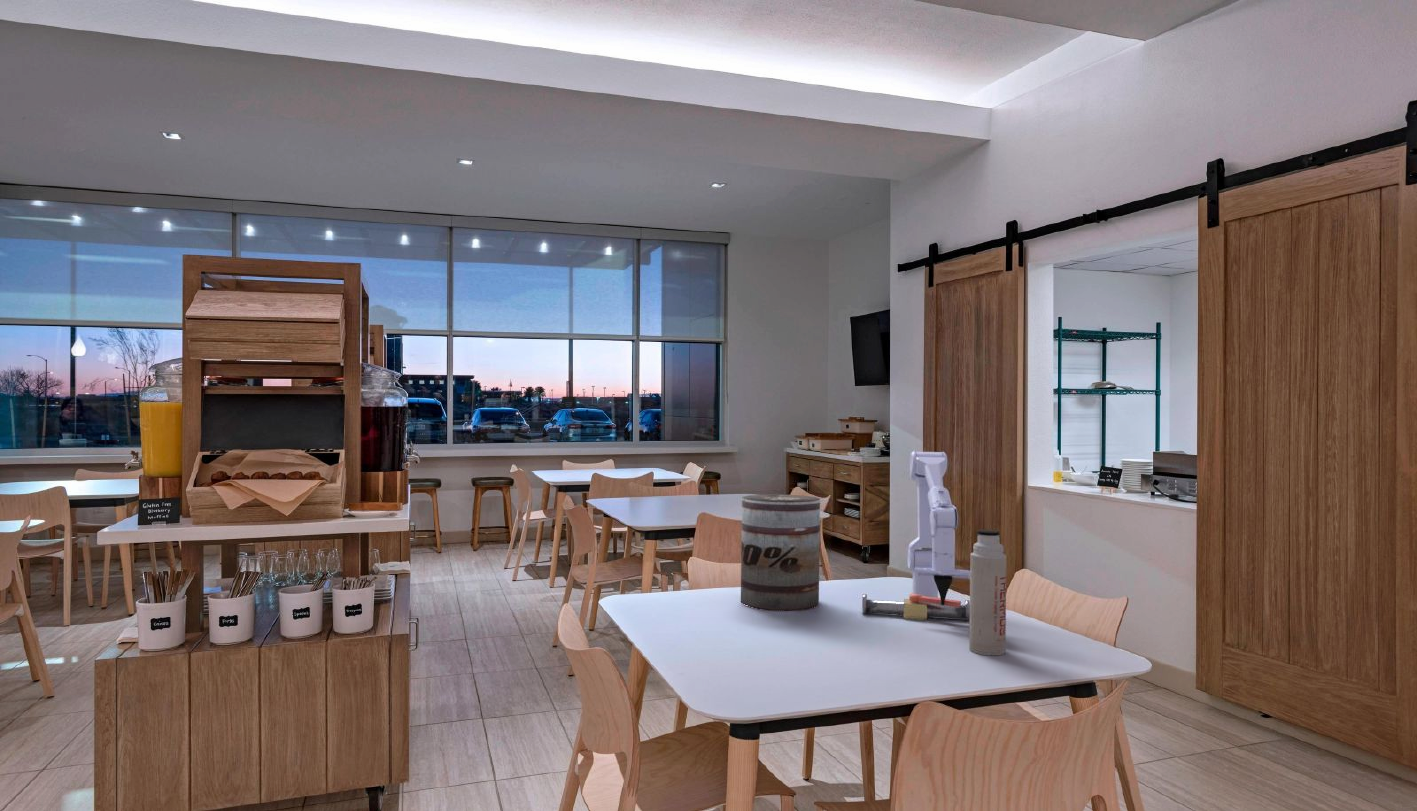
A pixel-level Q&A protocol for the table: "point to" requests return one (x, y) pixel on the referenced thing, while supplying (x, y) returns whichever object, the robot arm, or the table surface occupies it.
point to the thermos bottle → (987, 595)
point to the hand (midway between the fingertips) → (942, 604)
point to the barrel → (780, 552)
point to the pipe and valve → (915, 609)
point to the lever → (933, 600)
